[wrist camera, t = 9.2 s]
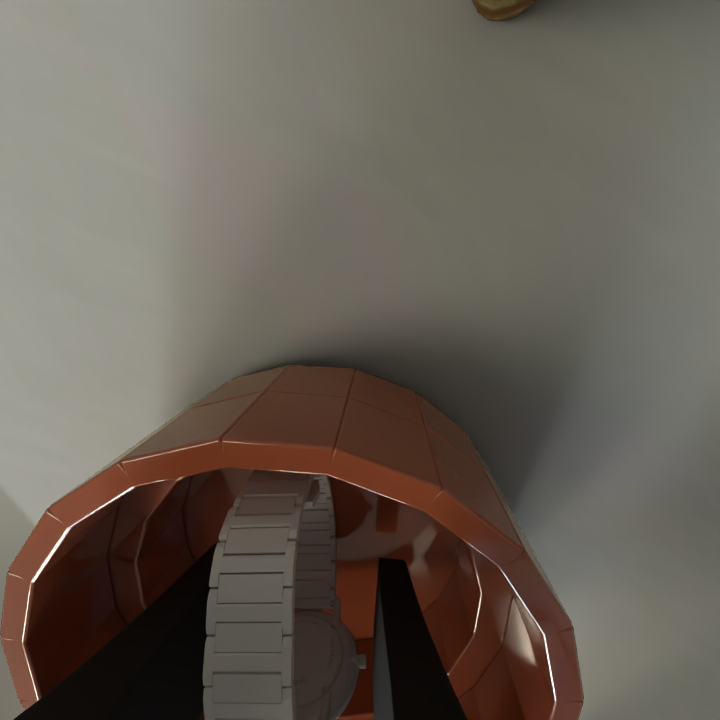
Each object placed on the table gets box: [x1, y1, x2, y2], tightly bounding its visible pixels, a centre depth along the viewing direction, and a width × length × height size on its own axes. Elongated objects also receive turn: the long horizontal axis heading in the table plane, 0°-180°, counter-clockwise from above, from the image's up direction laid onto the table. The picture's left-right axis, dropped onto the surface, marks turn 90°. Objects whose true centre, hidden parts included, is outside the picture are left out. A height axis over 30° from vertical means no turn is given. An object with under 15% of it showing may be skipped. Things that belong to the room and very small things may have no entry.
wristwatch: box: [202, 470, 366, 720], centre depth 7 cm, size 3×5×5 cm, turn 4°
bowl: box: [0, 365, 584, 720], centre depth 8 cm, size 11×11×4 cm
